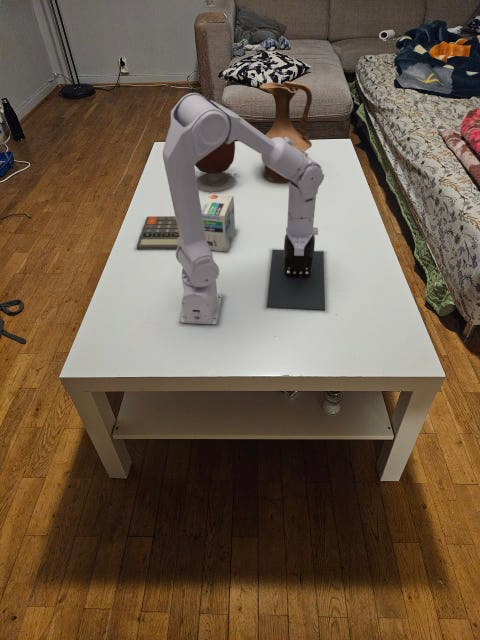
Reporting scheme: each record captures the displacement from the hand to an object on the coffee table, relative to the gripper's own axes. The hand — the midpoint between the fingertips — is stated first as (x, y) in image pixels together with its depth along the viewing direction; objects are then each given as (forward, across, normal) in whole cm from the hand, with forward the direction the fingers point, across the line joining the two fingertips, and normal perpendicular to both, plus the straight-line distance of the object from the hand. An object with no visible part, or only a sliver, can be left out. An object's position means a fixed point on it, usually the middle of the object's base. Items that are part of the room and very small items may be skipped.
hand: (297, 262), depth 108 cm
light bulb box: (+4, +14, +21) cm, 26 cm away
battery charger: (+4, 0, 0) cm, 4 cm away
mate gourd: (+4, +46, +28) cm, 54 cm away
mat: (+4, -1, 0) cm, 4 cm away
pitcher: (+4, +52, +6) cm, 53 cm away
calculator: (+4, +16, +37) cm, 40 cm away
